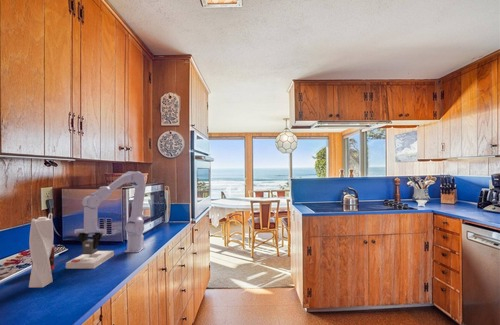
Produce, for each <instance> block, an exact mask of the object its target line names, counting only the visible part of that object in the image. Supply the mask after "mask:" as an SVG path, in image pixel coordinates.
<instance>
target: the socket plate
mask: <svg viewBox="0 0 500 325" xmlns="http://www.w3.org/2000/svg"><path fill="white" fill-rule="evenodd" d="M114 256H115V251H114V250H97V252H95V253H94V254H83V253H82V254H80V255H79V256H77V257H74V258H72V259H71V260H68V261H67V262H65V269H72V270H73V269H96V268H97V267H98V266H100V265H102V264H103V263H105V262H107V261H108V260H109V259H111V258H112V257H114Z"/></svg>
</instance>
